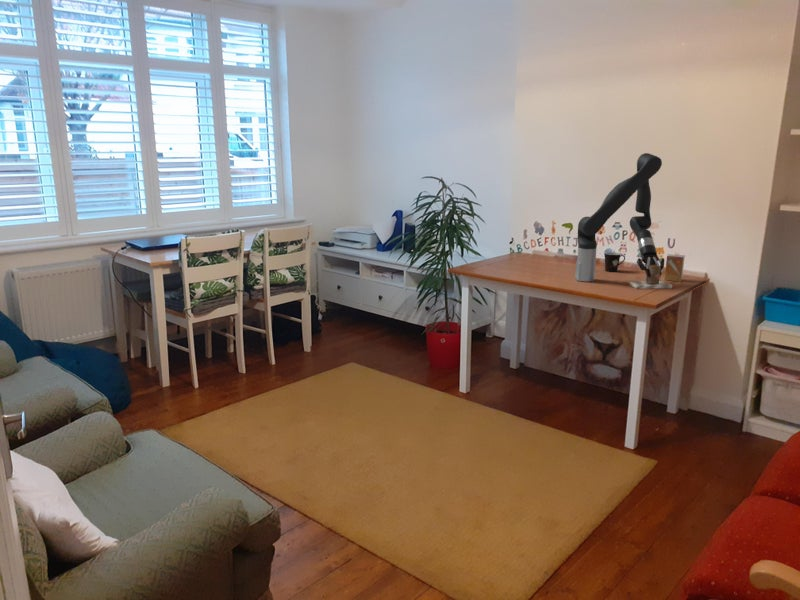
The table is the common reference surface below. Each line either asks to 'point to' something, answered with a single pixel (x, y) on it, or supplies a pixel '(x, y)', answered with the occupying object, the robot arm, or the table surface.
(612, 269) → the coffee mug
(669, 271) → the small box
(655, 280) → the block
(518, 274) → the table surface
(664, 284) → the board
